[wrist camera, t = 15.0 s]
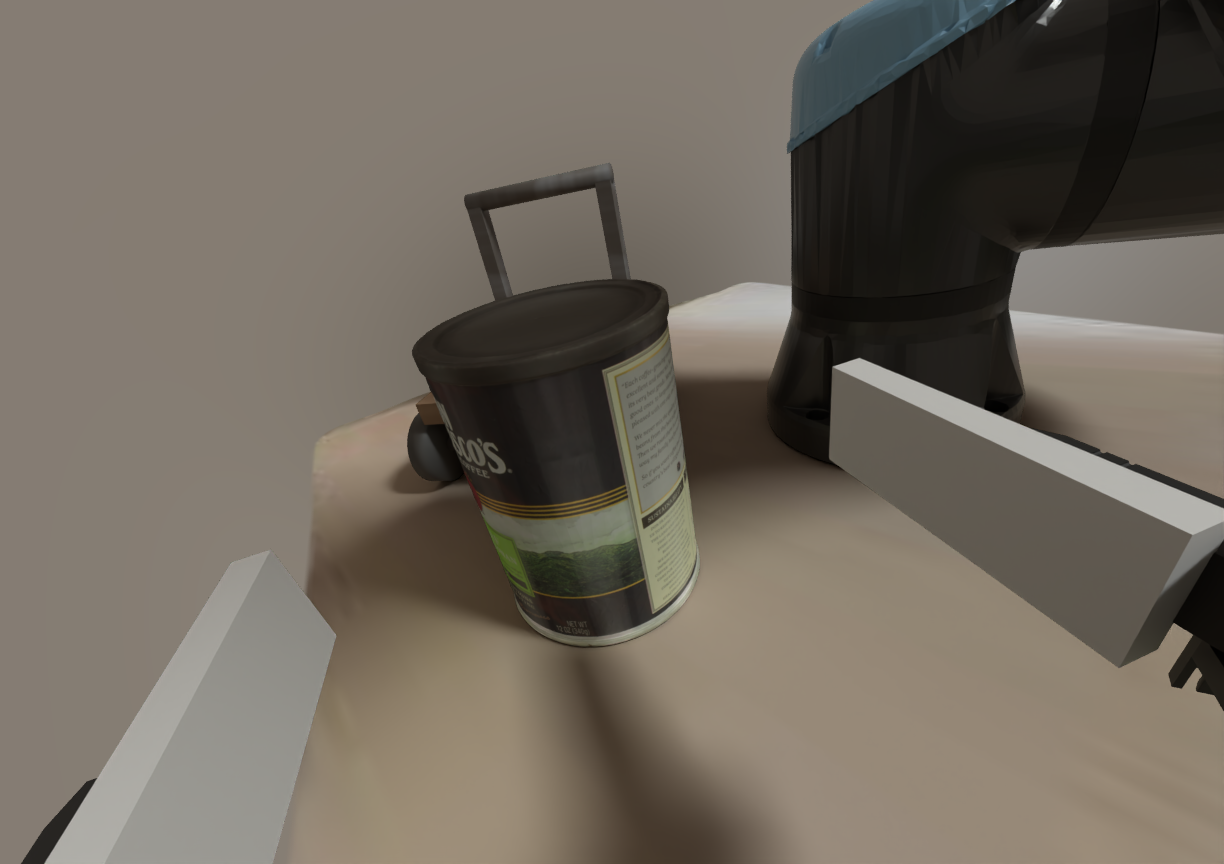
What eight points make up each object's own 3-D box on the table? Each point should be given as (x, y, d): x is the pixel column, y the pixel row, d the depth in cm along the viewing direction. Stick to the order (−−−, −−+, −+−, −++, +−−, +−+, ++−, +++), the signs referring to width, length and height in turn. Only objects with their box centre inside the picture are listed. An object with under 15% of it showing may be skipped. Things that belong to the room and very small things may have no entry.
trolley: (515, 396, 49) (452, 198, 40) (673, 385, 44) (641, 155, 35) (426, 495, 36) (299, 228, 26) (640, 495, 31) (574, 166, 22)
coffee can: (557, 694, 20) (434, 393, 13) (492, 556, 28) (397, 329, 21) (745, 576, 23) (724, 290, 17) (638, 484, 32) (595, 270, 25)
